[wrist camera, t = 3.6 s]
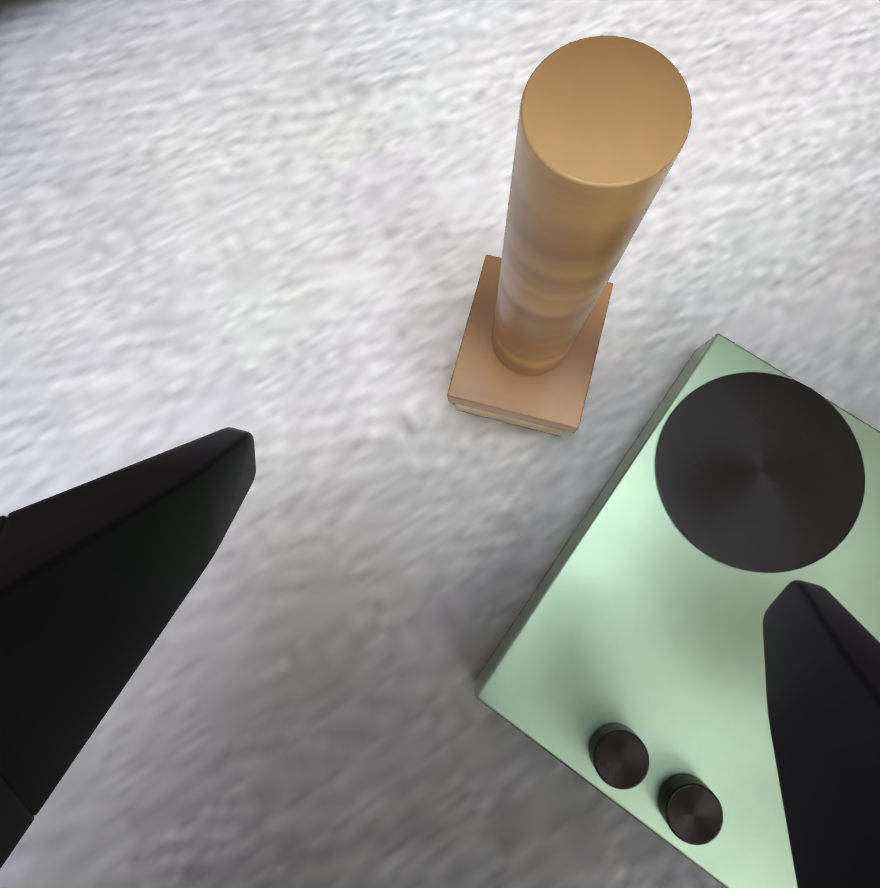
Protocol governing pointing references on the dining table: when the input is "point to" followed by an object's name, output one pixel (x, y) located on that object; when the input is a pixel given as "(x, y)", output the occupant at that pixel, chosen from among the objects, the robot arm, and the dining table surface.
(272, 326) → the dining table surface
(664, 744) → the hob
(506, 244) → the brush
